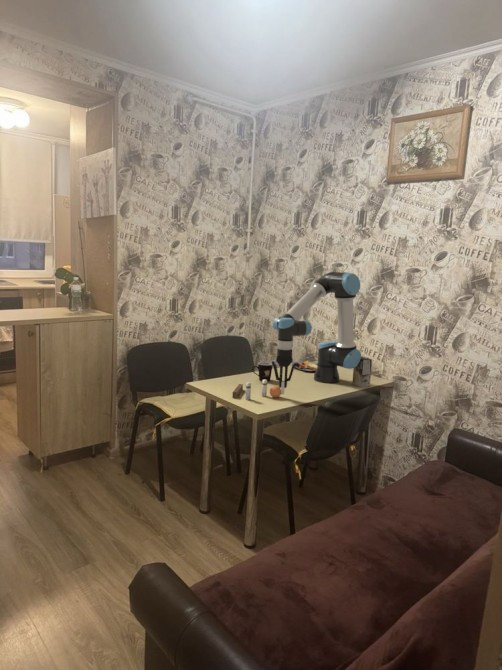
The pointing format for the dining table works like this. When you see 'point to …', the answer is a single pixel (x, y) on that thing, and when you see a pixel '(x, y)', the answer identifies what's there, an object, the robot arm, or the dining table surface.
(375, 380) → the dining table surface
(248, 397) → the side pin
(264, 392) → the pin
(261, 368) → the coffee mug
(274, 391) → the ball
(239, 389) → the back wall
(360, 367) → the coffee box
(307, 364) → the food plate
